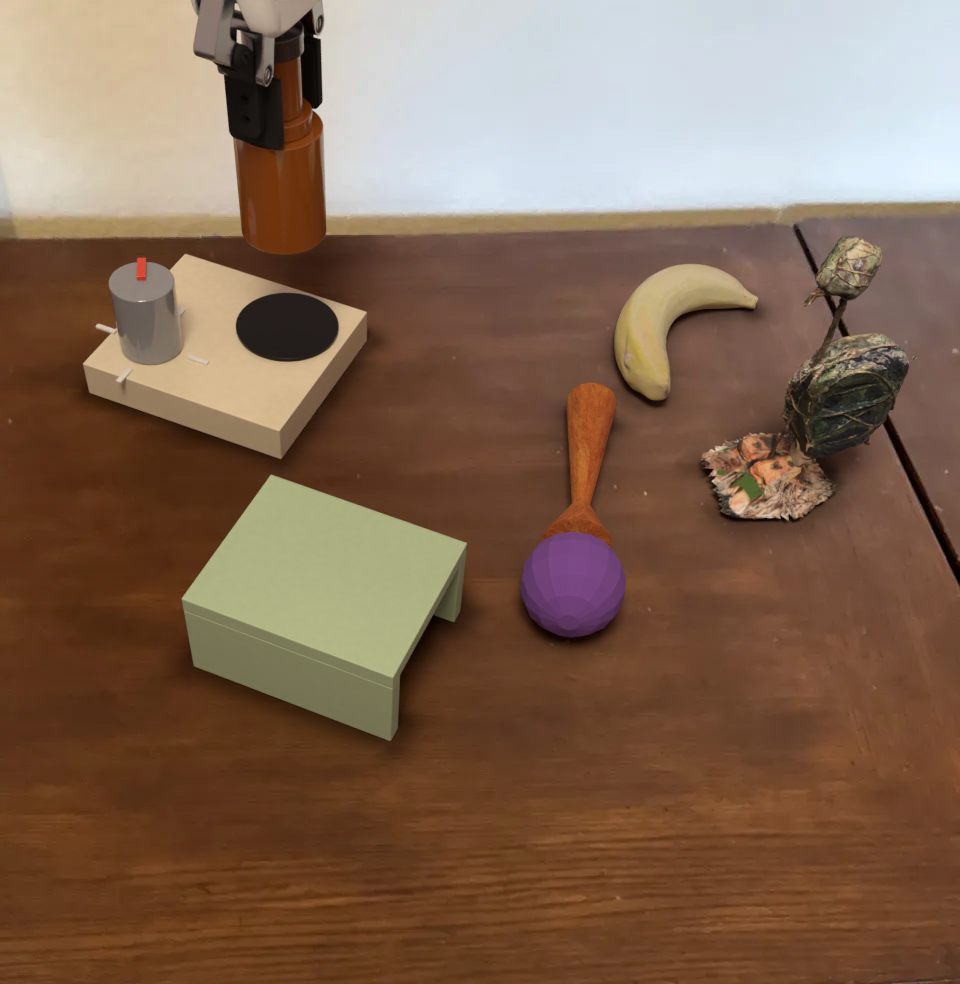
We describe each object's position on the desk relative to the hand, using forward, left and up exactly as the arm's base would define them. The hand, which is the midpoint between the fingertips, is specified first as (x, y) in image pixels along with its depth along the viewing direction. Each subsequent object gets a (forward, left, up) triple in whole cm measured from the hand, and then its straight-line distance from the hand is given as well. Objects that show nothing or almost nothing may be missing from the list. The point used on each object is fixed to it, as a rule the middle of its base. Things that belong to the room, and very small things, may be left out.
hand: (276, 118), depth 72 cm
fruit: (+24, +13, -18) cm, 33 cm away
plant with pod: (+34, +3, -18) cm, 38 cm away
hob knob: (-7, -6, -15) cm, 17 cm away
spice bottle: (0, 0, -7) cm, 7 cm away
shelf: (+13, -21, -18) cm, 30 cm away
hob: (-3, -3, -18) cm, 18 cm away
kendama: (+23, -7, -18) cm, 30 cm away
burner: (0, 0, -15) cm, 15 cm away
